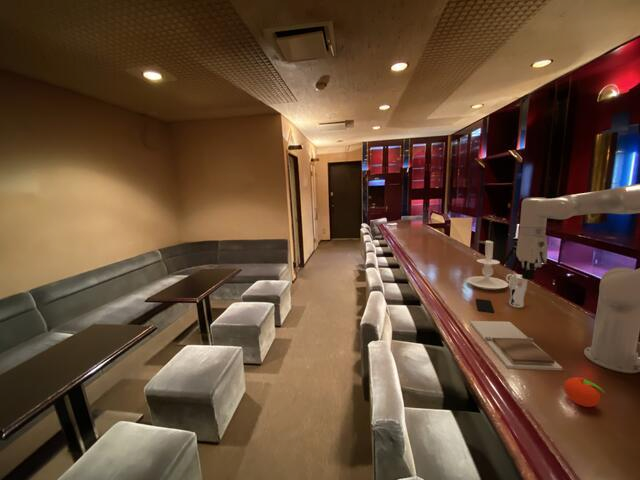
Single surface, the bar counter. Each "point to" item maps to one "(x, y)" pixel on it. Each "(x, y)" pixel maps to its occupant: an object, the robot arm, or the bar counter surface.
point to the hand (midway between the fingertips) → (527, 278)
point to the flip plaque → (522, 351)
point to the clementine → (582, 391)
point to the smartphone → (484, 306)
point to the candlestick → (488, 272)
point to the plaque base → (507, 331)
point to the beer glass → (517, 290)
